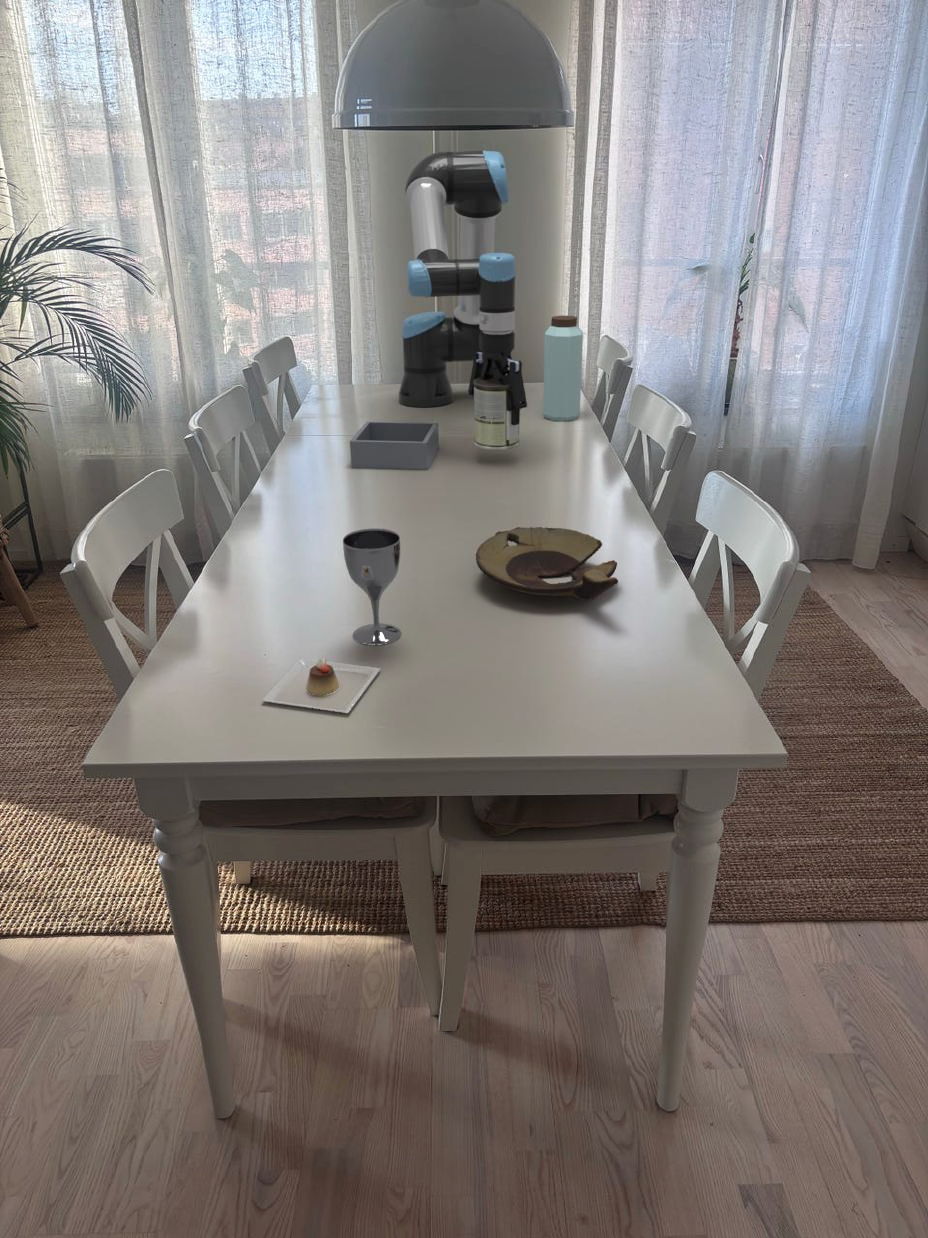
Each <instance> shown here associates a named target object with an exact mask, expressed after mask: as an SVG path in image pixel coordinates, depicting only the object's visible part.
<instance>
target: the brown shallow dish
mask: <svg viewBox="0 0 928 1238" xmlns="http://www.w3.org/2000/svg"><path fill="white" fill-rule="evenodd" d="M508 542H511V543H514V544H516V545H509V543H508ZM602 546H603V543H602V541H601V540H600V539H597V538H595V537H594V536H592V535H590V534H588V533H587V534H586V533H582V532H581V531H580V532H579V531H578V530H574V529H569V528H561V527H560V528H559V527H557V528H556V527H547V526H546V527H542V526H536V527H533V526H531V527H522V526H521V527H520V526H517V527H515V528H512V529H510V530H504V531H497V532H495V534H494V535H493V536H491V537H489V538H488V539H486V540H485V541H483V542H482V543H481V544H480V545H479V547H478V548H477V549H476V554H475V561H476V565H477V568H478V569H479V570H480V571H481V572H482V573H483V574H484V576H486V577H487V578H488V579H490V580H491V581H492V582H494V583H496V584H498V585H499V586H502V587H505V588H508V589H511V590H514V591H517V592H520V593H521V592H522V593H526V594H529V595H537V596H553V597H555V596H556V597H557V596H560V597H561V596H575V597H577V598H578V599H580V600H583V601H593V600H594V599H596V598H597V597H599V596H600V595H602V594H604V593H605V592H606V591H608V590H610V589H612V588H613V587H614V586H615V585H618V583H619V580H618V579H617V577H615V576H613V575H614V574H615V571H616V570H617V566H618V562H617V561H616V560H614V559H613V560H610V561H609V560H608V561H606V562H604V561H603V562H602V563H600V564H597V565H593V566H590V567H586V568H582V569H579V567H581V566H583V565H584V564H585V563H586V562H587V561H588V560H589V559H590V558H591V557H593V555H595V554H596V553H597V552H598V551H599V550H600V549H601V547H602ZM578 569H579V570H578ZM568 574H570V576H571V578H572V580H570V581H567V582H558V583H549V582H547V581H545V580H544V579H543V578H544V577H545V578H546V577H549V578H551V577H562V576H564V575H568ZM541 577H543V578H541Z"/></svg>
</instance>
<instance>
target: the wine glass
mask: <svg viewBox="0 0 928 1238" xmlns="http://www.w3.org/2000/svg"><path fill="white" fill-rule="evenodd" d="M342 547H343V555H344V556H343V557H344V561H345V566H346V568H347V569H346V570H347V571H348V575H349V577H350V579H351V580H352V581H353V582H354V584H356V586H358V587H359V588H360V589H361V590H363V592H364V593H365V594H366V595H367V597H368V599H369V601H370V605H371V609H372V615H373V616H372V617H373V623H369V624H365V625H362V626H359V627H358V628H356V629H355V630H354V632H353V633H352V638H354V639H355V640H357V641H358V642H360V643H359V644H361V643H366V644H375V645H378V644H385V643H389V644H392V643H394V642H396V641H397V640H399V639H400V638H401V636H402V631H401V629H400V628H399V627H398V626H396V625H393V624H389V623H384V622H383V623H382V622H380V619H379V618H380V617H379V614H380V601H381V598H382V595H383V593H384V592H385V591H386V590H387V588H388V587H389V586H390V585H391V583H393V581H394V580H395V579H396V577H397V575H398V571H399V566H400V560H401V539H400V535H399V534H398V533H397V532H396V531H393V530H391V529H386V528H365V529H364V528H363V529H358V530H354V531H352V532H349V533H347V534H346V535H345V536H344V537H343V539H342ZM354 639H353V640H354ZM355 640H354V641H355ZM358 642H357V643H358ZM391 642H392V643H391ZM385 645H386V644H385ZM378 646H379V645H378Z"/></svg>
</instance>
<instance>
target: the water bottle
mask: <svg viewBox="0 0 928 1238" xmlns="http://www.w3.org/2000/svg"><path fill="white" fill-rule="evenodd" d="M577 323H578V316H575V315H555V316H552V317H551V324H550V326H549V327H548V328H547V330H546V331H545V333H544V356H543V357H544V358H543V362H544V363H543V399H542V400H543V402H542V403H543V406H542V407H543V408H542V414H543V416H544V418H545V419H547V420H550V421H553V422H570V421H574V420H577V419H578V417H579V416H580V412H581V396H582V395H581V394H582V393H581V391H582V389H581V388H582V368H583V367H582V364H583V363H582V362H583V345H584V344H583V340H584V335H583V334H584V331H583V330H582V329H581V328H580V327H579V326H578V324H577Z"/></svg>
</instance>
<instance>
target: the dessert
mask: <svg viewBox="0 0 928 1238" xmlns="http://www.w3.org/2000/svg"><path fill="white" fill-rule="evenodd" d="M303 665H306V666H307V665H308V666H313V667H312V668H311V667H310V669H309V673H308V678H307V682H306V686H305V690H306V689H307V691H308V692H309V693H310V694H309V693H308V694H309V695H311V694H314V695H317V696H316V697H325V696H324V695H327V694H330V693H333V692H334V691H336V690H337V689H338V688H339V684H340V682H339V680H338V676H337V675H336V671H335V670H334V669H333V668H338V669H340V668H343V669H347V668H348V669H350V670H351V669H353V670H354V669H358V670H360V669H363V670H366V671H367V670H371V671H374V673H373V674H372V675H371V677H370V679H369V680H368V681H367V683H366V684H365V685H364V686H363V688H362V689H361V690H360V691H359V693H358V694H357V695H356V696H355V697H354V698H353V697H352V698H353V700H352V701H351V702H350V701H349V702H350V704H349V705H348V706H347V705H346V706H347V709H346V710H345V711H343V710H344V709H337V710H336V709H335V708H330V709H329V707H323V708H322V707H320V706H314V705H306V704H302V703H301V704H300V703H293V702H287V701H281V700H280V701H279V700H276V701H274V700H273V699H274V698H275V697H276V696H277V695H276V694H277V693H278V692H279V691H280V690H281V688H282V686H283V685H284V684H285V683H286V682H287V680H288V679H289V678H292V677H294V675H295V674H297V673H296V672H298V671H300V669H301V667H303ZM380 671H381V668H380V667H373V666H367V665H357V664H351V663H344V662H343V663H342V662H335V661H327V659H324V658H319V659H313V658H306V657H299V658H298V659H297V660H296V661H295V662H294V663H293V664H292V665H291V667H290V668H289V669H288V670H287V671H286V673H284V674H283V675H282V677H281V678H280V679H279V680H278V681H277V682H276V683H275V684H274V685H273V687H272V688H271V689H270V690H268V692H267V693H266V694H265V695H264V697H263V698H262V699H261V702H266V703H270V702H271V704H279V705H284V706H285V705H286V706H291V707H292V706H293V707H301V708H305V707H306V708H308V709H312V708H313V710H319V709H320V711H326V710H327V712H333V711H334V712H335V713H340V712H341V714H342V713H343V714H348V713H350V711H351V710H352V709H353V707H354V706H355V705H356V704H357V702H358V701H359V700H360V697H362V695H364V692H365V691H366V690H367V689H368V687H369V686H370V685H371V683H372V682H373V680H374V679H375V677H376V676H377V675H378V673H379V672H380ZM307 691H306V692H307ZM314 695H313V696H314Z"/></svg>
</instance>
